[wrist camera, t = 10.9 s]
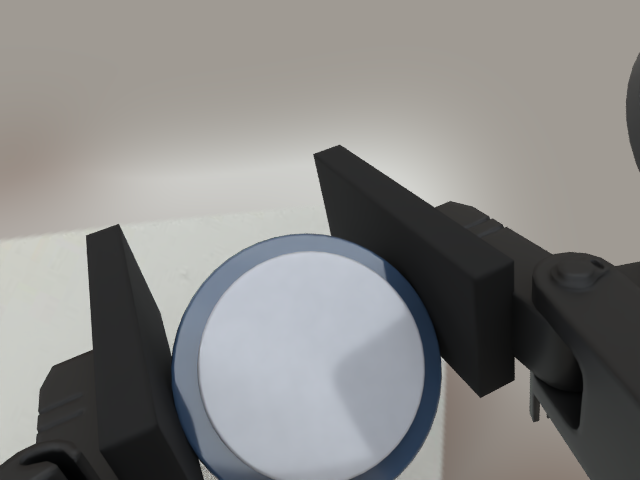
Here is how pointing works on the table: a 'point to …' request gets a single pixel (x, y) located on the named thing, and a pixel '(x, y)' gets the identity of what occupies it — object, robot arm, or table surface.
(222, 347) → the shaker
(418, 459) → the table surface
